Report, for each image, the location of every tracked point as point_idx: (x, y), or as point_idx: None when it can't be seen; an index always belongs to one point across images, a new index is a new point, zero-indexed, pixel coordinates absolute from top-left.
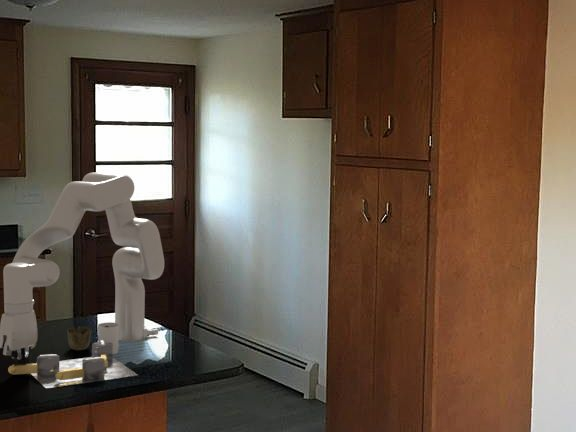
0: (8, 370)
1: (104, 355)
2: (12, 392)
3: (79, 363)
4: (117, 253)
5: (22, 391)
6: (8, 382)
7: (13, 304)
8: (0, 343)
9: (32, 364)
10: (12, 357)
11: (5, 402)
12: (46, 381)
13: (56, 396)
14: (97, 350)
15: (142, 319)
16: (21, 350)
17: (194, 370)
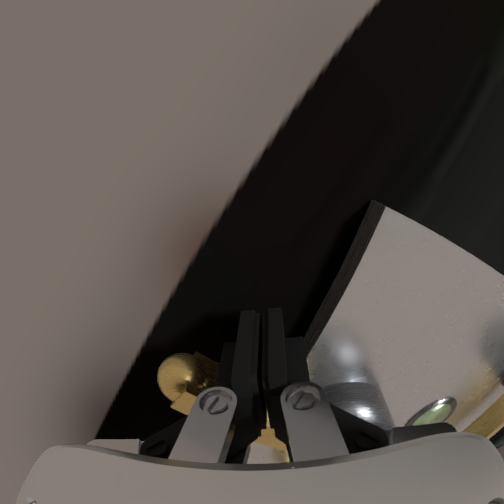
0: (158, 370)
1: (495, 432)
2: (141, 407)
3: (497, 355)
4: None
5: (173, 421)
6: (179, 321)
7: None
8: (34, 492)
9: (282, 444)
10: (199, 402)
11: (100, 431)
12: (265, 454)
13: None
14: None
15: None
16: (312, 436)
17: (494, 442)
